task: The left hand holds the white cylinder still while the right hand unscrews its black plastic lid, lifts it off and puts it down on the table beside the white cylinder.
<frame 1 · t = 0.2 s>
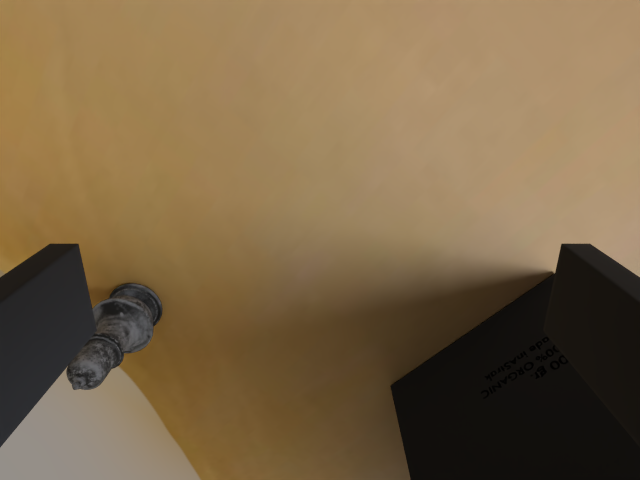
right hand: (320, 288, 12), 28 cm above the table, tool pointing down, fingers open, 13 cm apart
cardboard box: (563, 436, 51), on the table
dark grey chess piece: (136, 306, 45), on the table
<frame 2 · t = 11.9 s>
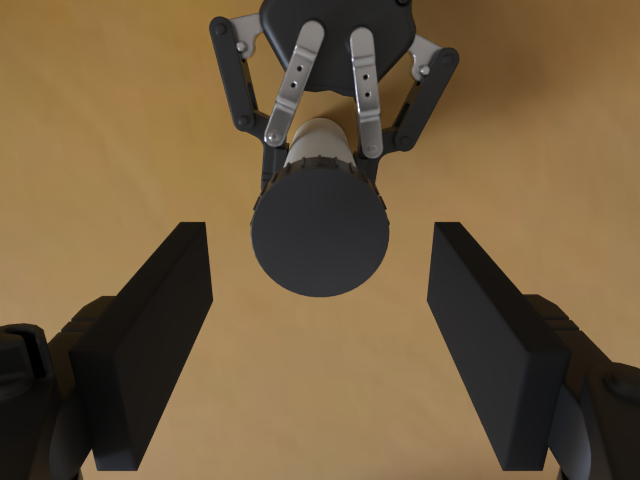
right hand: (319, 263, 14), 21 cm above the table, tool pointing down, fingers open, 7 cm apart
left hand: (315, 207, 28), fingers closed on white cylinder, 4 cm apart
lid: (319, 233, 16), point 18 cm above the table, screwed on, not yet turned
white cylinder: (320, 145, 34), on the table, touching left hand
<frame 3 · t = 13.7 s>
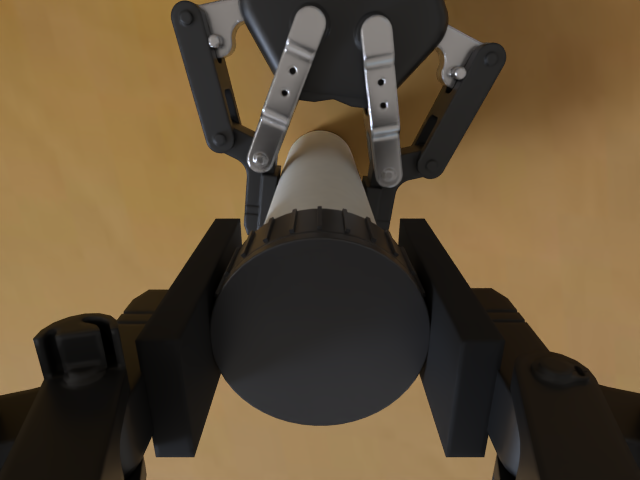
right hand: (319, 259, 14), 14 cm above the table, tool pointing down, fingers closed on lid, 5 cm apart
left hand: (314, 246, 22), fingers closed on white cylinder, 4 cm apart
lid: (320, 332, 10), point 18 cm above the table, screwed on, not yet turned, touching right hand
white cylinder: (320, 164, 28), on the table, touching left hand
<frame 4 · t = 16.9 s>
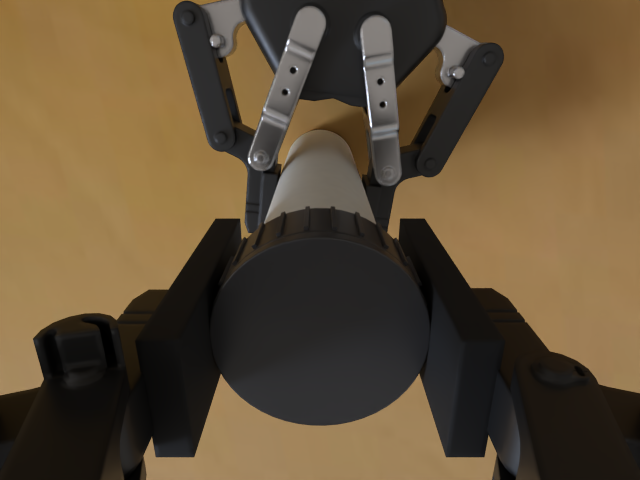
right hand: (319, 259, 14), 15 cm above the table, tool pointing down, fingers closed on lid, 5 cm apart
left hand: (314, 244, 23), fingers closed on white cylinder, 4 cm apart
lid: (320, 331, 10), point 19 cm above the table, turned 103° so far, risen 0.3 cm, still on its thread, touching right hand
white cylinder: (320, 162, 28), on the table, touching left hand
when the right hand's fingers open (0 cm above the table, at t = 23.7 s): lid drops 1 cm, point 2 cm above the table.
when the left hand's fingers open (7 cm above the table, at t = 24.2 s): white cylinder stays where it is, on the table.
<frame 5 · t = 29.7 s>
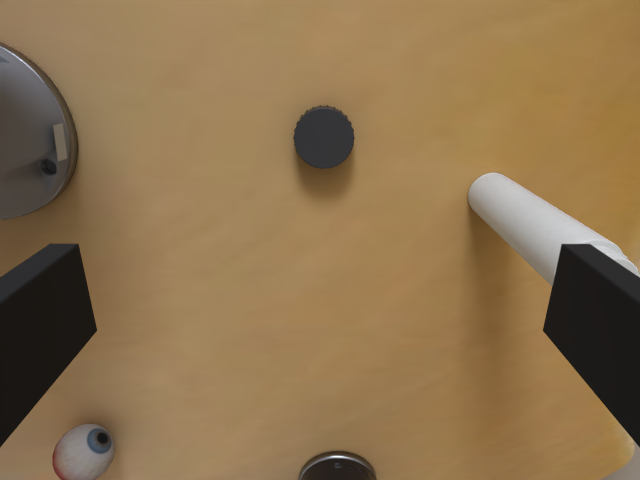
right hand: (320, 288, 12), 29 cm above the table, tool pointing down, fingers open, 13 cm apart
lid: (323, 138, 38), point 2 cm above the table, off its thread
eyeball: (98, 430, 52), on the table
white cylinder: (489, 194, 41), on the table
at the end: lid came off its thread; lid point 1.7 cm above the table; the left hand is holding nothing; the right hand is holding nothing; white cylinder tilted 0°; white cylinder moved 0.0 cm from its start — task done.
